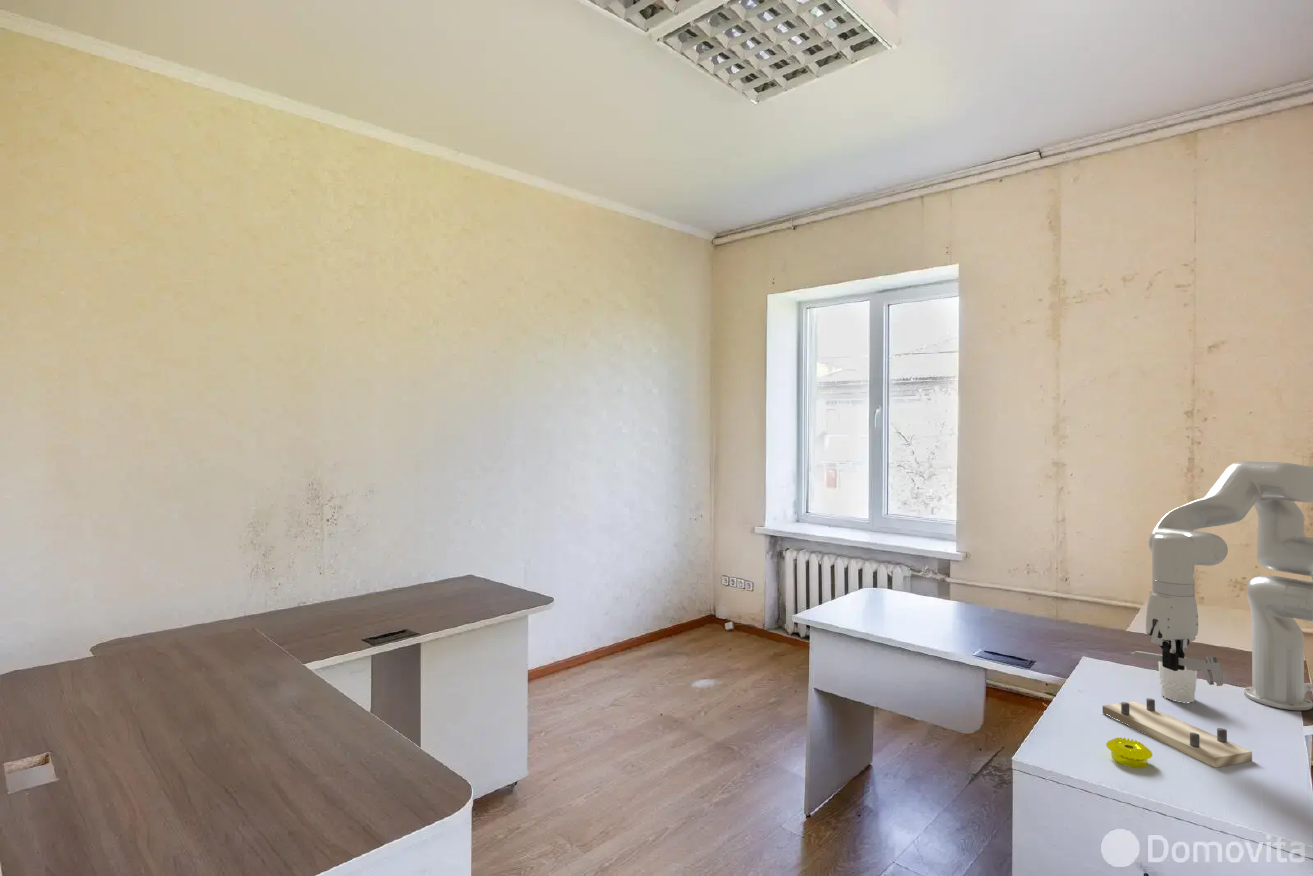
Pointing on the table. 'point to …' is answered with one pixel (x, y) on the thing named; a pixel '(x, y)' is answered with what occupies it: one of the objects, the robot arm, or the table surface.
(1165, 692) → the white cup
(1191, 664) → the caliper
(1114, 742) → the gear
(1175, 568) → the robot arm
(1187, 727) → the tool rest
